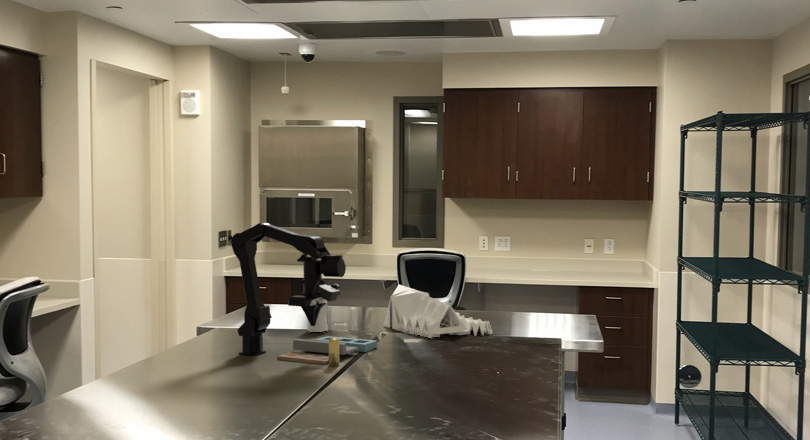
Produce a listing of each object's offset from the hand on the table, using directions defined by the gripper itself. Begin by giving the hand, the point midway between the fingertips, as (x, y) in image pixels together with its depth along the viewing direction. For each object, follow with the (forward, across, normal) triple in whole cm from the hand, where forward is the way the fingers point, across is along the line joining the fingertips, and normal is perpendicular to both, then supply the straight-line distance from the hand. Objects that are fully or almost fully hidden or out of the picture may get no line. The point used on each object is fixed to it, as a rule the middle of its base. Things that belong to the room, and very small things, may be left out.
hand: (313, 325), depth 228 cm
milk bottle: (+10, +43, +27) cm, 52 cm away
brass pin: (+10, -6, -12) cm, 17 cm away
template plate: (+10, -2, 0) cm, 10 cm away
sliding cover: (+9, +7, 0) cm, 11 cm away
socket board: (+10, +20, 0) cm, 22 cm away
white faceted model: (+11, +68, -12) cm, 70 cm away
